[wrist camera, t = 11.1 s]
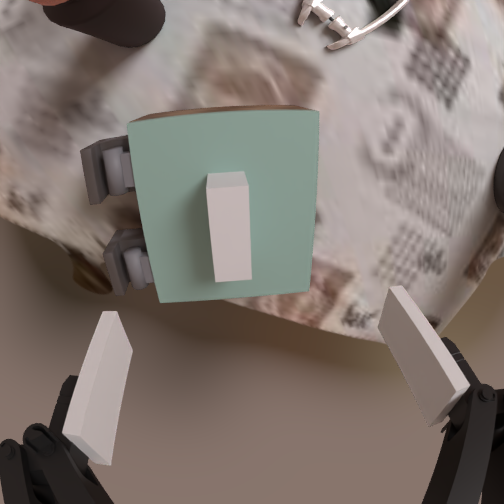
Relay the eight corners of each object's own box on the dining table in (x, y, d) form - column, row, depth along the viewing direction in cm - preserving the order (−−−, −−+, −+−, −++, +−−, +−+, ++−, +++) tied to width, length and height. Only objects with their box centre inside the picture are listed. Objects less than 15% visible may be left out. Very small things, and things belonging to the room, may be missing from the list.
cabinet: (294, 105, 31) (323, 112, 22) (290, 246, 40) (310, 293, 32) (114, 119, 30) (77, 133, 21) (137, 258, 39) (119, 306, 30)
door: (313, 110, 24) (336, 116, 19) (305, 282, 33) (319, 316, 28) (103, 127, 23) (77, 137, 18) (138, 294, 32) (128, 330, 27)
